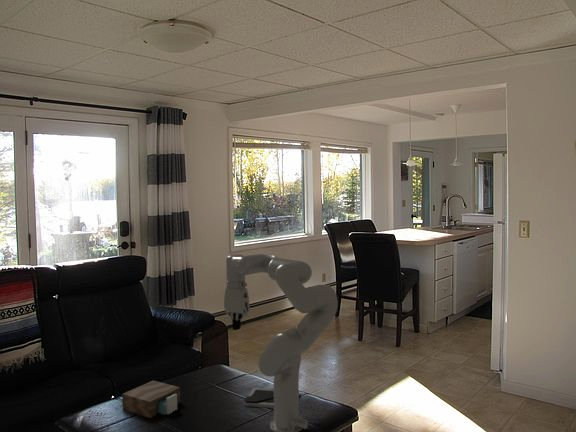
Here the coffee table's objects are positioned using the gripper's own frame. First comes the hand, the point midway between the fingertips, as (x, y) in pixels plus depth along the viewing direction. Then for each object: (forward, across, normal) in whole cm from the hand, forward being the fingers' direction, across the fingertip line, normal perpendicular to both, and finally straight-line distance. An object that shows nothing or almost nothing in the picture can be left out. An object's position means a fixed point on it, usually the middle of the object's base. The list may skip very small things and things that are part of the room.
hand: (236, 329), depth 201 cm
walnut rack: (+33, +33, +16) cm, 49 cm away
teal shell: (+33, +29, +16) cm, 47 cm away
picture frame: (+34, -8, -14) cm, 38 cm away
